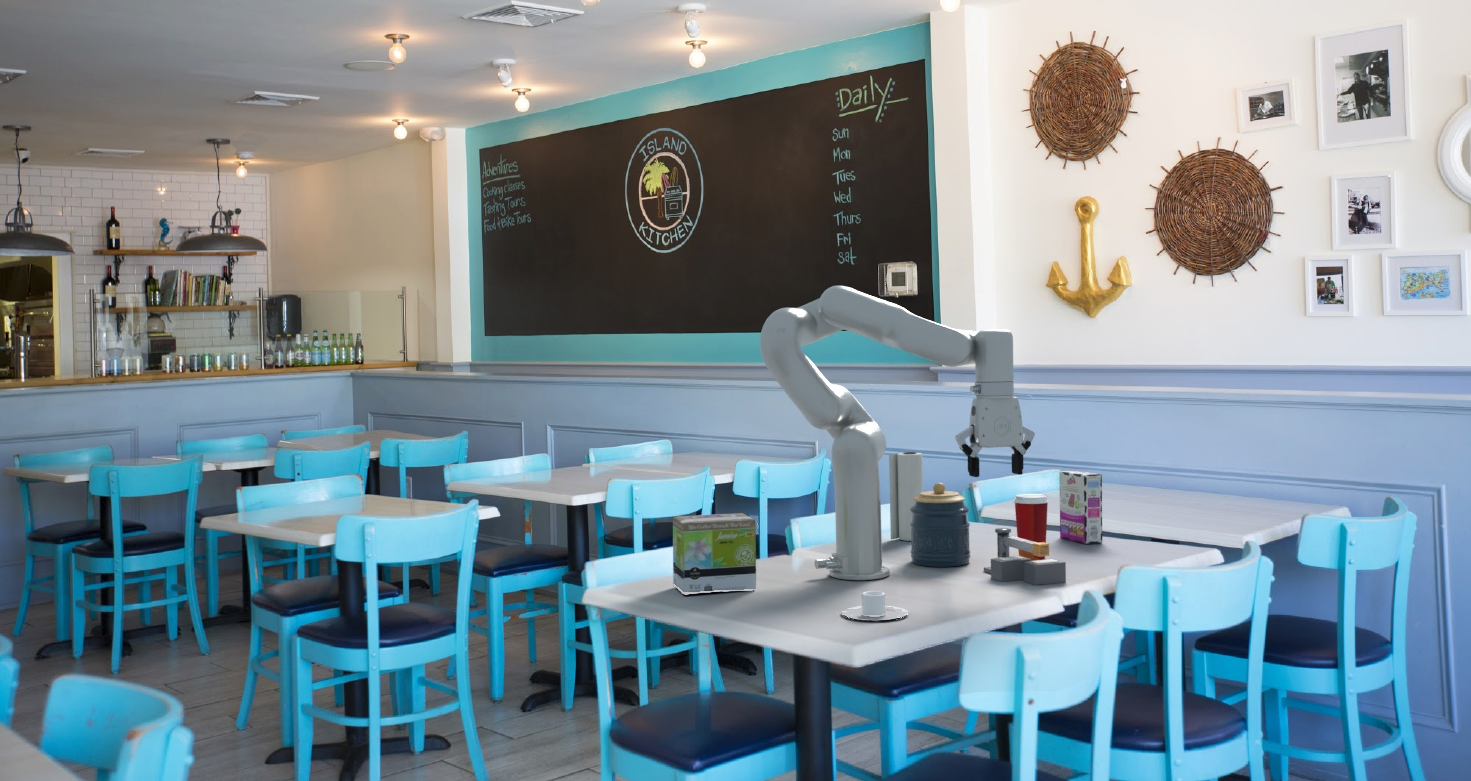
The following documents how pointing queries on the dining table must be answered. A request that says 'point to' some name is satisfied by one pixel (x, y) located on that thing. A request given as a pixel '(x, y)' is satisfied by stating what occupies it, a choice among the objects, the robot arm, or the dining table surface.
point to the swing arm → (1027, 545)
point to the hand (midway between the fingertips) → (995, 475)
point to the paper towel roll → (904, 491)
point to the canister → (940, 529)
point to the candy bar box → (1081, 506)
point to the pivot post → (1000, 545)
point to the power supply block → (1045, 571)
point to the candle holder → (874, 604)
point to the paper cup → (1031, 520)
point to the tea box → (714, 552)
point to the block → (1008, 568)
